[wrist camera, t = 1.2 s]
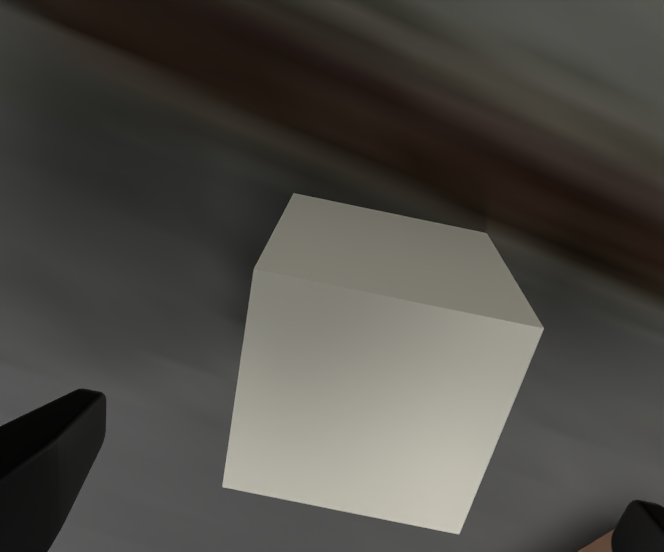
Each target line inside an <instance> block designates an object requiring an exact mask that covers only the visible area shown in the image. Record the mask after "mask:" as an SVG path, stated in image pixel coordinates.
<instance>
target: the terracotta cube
mask: <svg viewBox="0 0 664 552" xmlns="http://www.w3.org/2000/svg"><path fill="white" fill-rule="evenodd" d="M613 531H614V530H612V531H610V532H609V533H607V534H605V535H604V536H602V537H601V538H599V539H597V540H596V541H594V542H592V543H591V544H589V545H587V546H586V547H584V548H582V549H581V550H579V551H577V552H612V547H611V537H612V533H613Z"/></svg>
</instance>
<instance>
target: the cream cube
mask: <svg viewBox="0 0 664 552" xmlns="http://www.w3.org/2000/svg"><path fill="white" fill-rule="evenodd" d="M543 330H544V328H543V326H542V324H541V323H540V321H539V319H538V318H537V316H536V314H535V313H534V311H533V309H532V308H531V306H530V304H529V303H528V301H527V299H526V298H525V296H524V294H523V293H522V291H521V289H520V288H519V286H518V284H517V283H516V281H515V279H514V278H513V276H512V274H511V273H510V271H509V269H508V268H507V266H506V264H505V263H504V261H503V259H502V258H501V256H500V254H499V253H498V251H497V249H496V248H495V246H494V244H493V243H492V241H491V239H490V238H489V236H488V234H487V233H484V232H479V231H474V230H469V229H465V228H460V227H455V226H450V225H445V224H440V223H436V222H431V221H426V220H421V219H416V218H412V217H407V216H402V215H397V214H392V213H387V212H383V211H378V210H373V209H368V208H363V207H358V206H354V205H349V204H344V203H339V202H334V201H330V200H325V199H320V198H315V197H310V196H305V195H301V194H296V193H293V195H292V197H291V199H290V201H289V203H288V205H287V207H286V208H285V210H284V212H283V214H282V216H281V218H280V220H279V222H278V224H277V226H276V227H275V229H274V231H273V233H272V235H271V237H270V239H269V241H268V243H267V245H266V247H265V248H264V250H263V252H262V254H261V256H260V258H259V260H258V262H257V264H256V266H255V267H254V271H253V278H252V284H251V291H250V298H249V305H248V312H247V319H246V326H245V333H244V340H243V347H242V354H241V361H240V368H239V375H238V381H237V388H236V395H235V402H234V409H233V416H232V423H231V430H230V437H229V444H228V451H227V458H226V465H225V471H224V478H223V485H222V487H224V488H229V489H234V490H239V491H244V492H249V493H254V494H259V495H264V496H269V497H274V498H279V499H284V500H289V501H294V502H299V503H304V504H309V505H314V506H319V507H324V508H329V509H334V510H339V511H344V512H349V513H354V514H359V515H364V516H369V517H374V518H379V519H384V520H389V521H394V522H399V523H404V524H409V525H414V526H419V527H424V528H429V529H434V530H439V531H444V532H449V533H454V534H460V531H461V529H462V526H463V524H464V522H465V519H466V517H467V514H468V512H469V509H470V507H471V505H472V502H473V500H474V497H475V495H476V492H477V490H478V488H479V485H480V483H481V480H482V478H483V475H484V473H485V471H486V468H487V466H488V463H489V461H490V458H491V456H492V454H493V451H494V449H495V446H496V444H497V441H498V439H499V437H500V434H501V432H502V429H503V427H504V424H505V422H506V420H507V417H508V415H509V412H510V410H511V407H512V405H513V403H514V400H515V398H516V395H517V393H518V390H519V388H520V386H521V383H522V381H523V378H524V376H525V373H526V371H527V369H528V366H529V364H530V361H531V359H532V356H533V354H534V352H535V349H536V347H537V344H538V342H539V339H540V337H541V335H542V332H543Z"/></svg>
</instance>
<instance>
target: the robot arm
mask: <svg viewBox="0 0 664 552" xmlns="http://www.w3.org/2000/svg"><path fill="white" fill-rule="evenodd" d="M105 432H106V397H105V395H104V394H103V393H102V392H98V391H93V390H88V389H78V390H75V391H73V392H71V393H69V394H67V395H65V396H63V397H60V398H58V399H56V400H54V401H52V402H50V403H48V404H46V405H44V406H42V407H40V408H37V409H35V410H33V411H31V412H29V413H27V414H25V415H23V416H21V417H19V418H17V419H15V420H12V421H10V422H8V423H6V424H4V425H2V426H0V552H47V551H48V550H49V548H50V547H51V545H52V543H53V542H54V540H55V538H56V537H57V535H58V533H59V531H60V530H61V528H62V526H63V524H64V522H65V520H66V518H67V516H68V514H69V512H70V510H71V508H72V506H73V504H74V502H75V500H76V498H77V496H78V493H79V491H80V489H81V487H82V485H83V483H84V481H85V479H86V477H87V475H88V473H89V471H90V469H91V467H92V465H93V463H94V461H95V459H96V457H97V454H98V452H99V450H100V448H101V446H102V444H103V441H104V437H105ZM611 547H612V552H664V507H662V506H661V505H659V504H656V503H651V502H646V501H641V500H634V501H632V502H631V503H629V505H628V506H627V508H626V510H625V512H624V513H623V515H622V517H621V519H620V520H619V522H618V524H617V525H616V527H615V529H614V531H613V533H612V537H611Z"/></svg>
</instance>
